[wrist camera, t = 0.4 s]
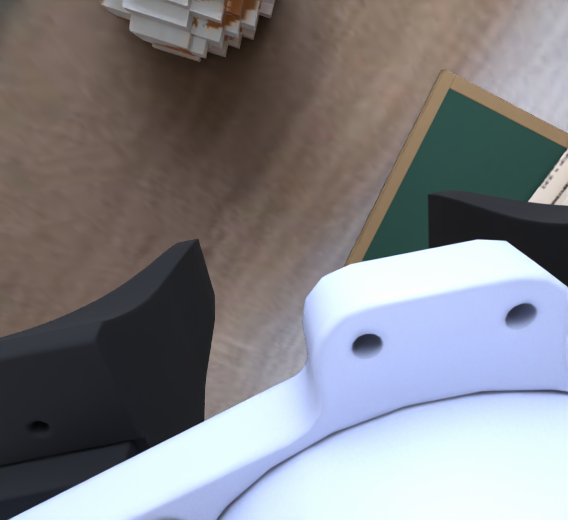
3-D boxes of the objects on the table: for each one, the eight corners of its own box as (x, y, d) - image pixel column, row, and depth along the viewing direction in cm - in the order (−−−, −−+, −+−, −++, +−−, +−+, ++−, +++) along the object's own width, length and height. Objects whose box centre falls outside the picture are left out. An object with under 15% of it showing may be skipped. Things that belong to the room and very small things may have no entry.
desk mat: (579, 435, 31) (584, 439, 30) (307, 340, 26) (308, 343, 26) (739, 225, 26) (747, 227, 26) (441, 69, 22) (445, 68, 21)
